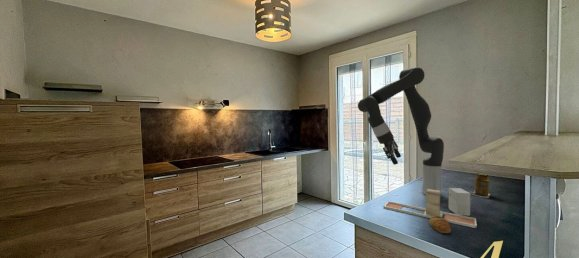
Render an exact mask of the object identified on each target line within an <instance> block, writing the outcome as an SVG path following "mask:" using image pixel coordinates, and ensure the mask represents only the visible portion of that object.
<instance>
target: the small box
mask: <svg viewBox="0 0 579 258" xmlns="http://www.w3.org/2000/svg"><path fill="white" fill-rule="evenodd" d="M448 210H450V211H451V213H453V214H457V215H462V216H467V217H471V193H470V192H469V191H467V190H465V189H463V188H460V187H459V188H457V187H448Z"/></svg>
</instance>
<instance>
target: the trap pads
mask: <svg viewBox="0 0 579 258" xmlns="http://www.w3.org/2000/svg"><path fill="white" fill-rule="evenodd" d="M387 207H392V208H397V209H401V210H402V207H403V206H400V205H395V204H390V203H389V204H388V205H387ZM444 219H449V220H453V221H458V222H463V223H468V224H472V225H475V224H474V220H469V219H464V218H460V217H455V216H450V215H444Z"/></svg>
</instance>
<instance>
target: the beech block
mask: <svg viewBox="0 0 579 258" xmlns="http://www.w3.org/2000/svg"><path fill="white" fill-rule="evenodd" d="M425 202H426V203H425V208H426V215H430V216H439V215H440V211H441V196H440V191H438V190H432V189H427V191H426V195H425Z"/></svg>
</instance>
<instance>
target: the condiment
mask: <svg viewBox="0 0 579 258" xmlns="http://www.w3.org/2000/svg"><path fill="white" fill-rule="evenodd" d="M474 180H475V181H474V182H475V183H474V191H473V193H472V194H471V195H472V196H477V197H481V198H486V199H489V198H490V196H491V193H489V190H490V180H489V175H488V174H487V173H481V172H479V173H476V174H475V179H474Z"/></svg>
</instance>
